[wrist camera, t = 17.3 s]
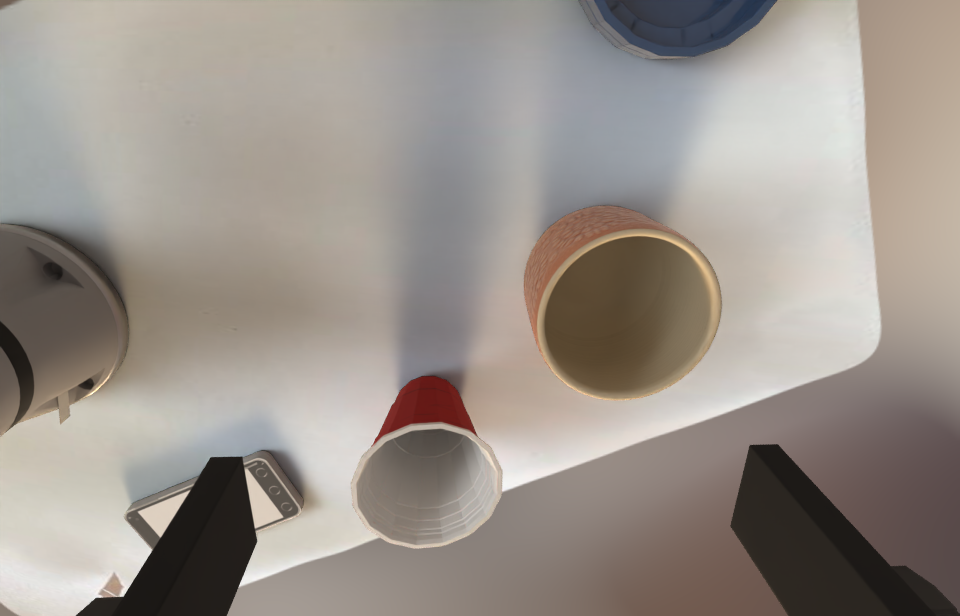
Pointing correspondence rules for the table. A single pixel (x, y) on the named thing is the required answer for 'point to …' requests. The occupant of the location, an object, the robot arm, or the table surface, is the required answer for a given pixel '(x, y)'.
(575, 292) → the planter
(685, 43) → the dish
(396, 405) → the plastic cup
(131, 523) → the smartphone
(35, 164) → the table surface
